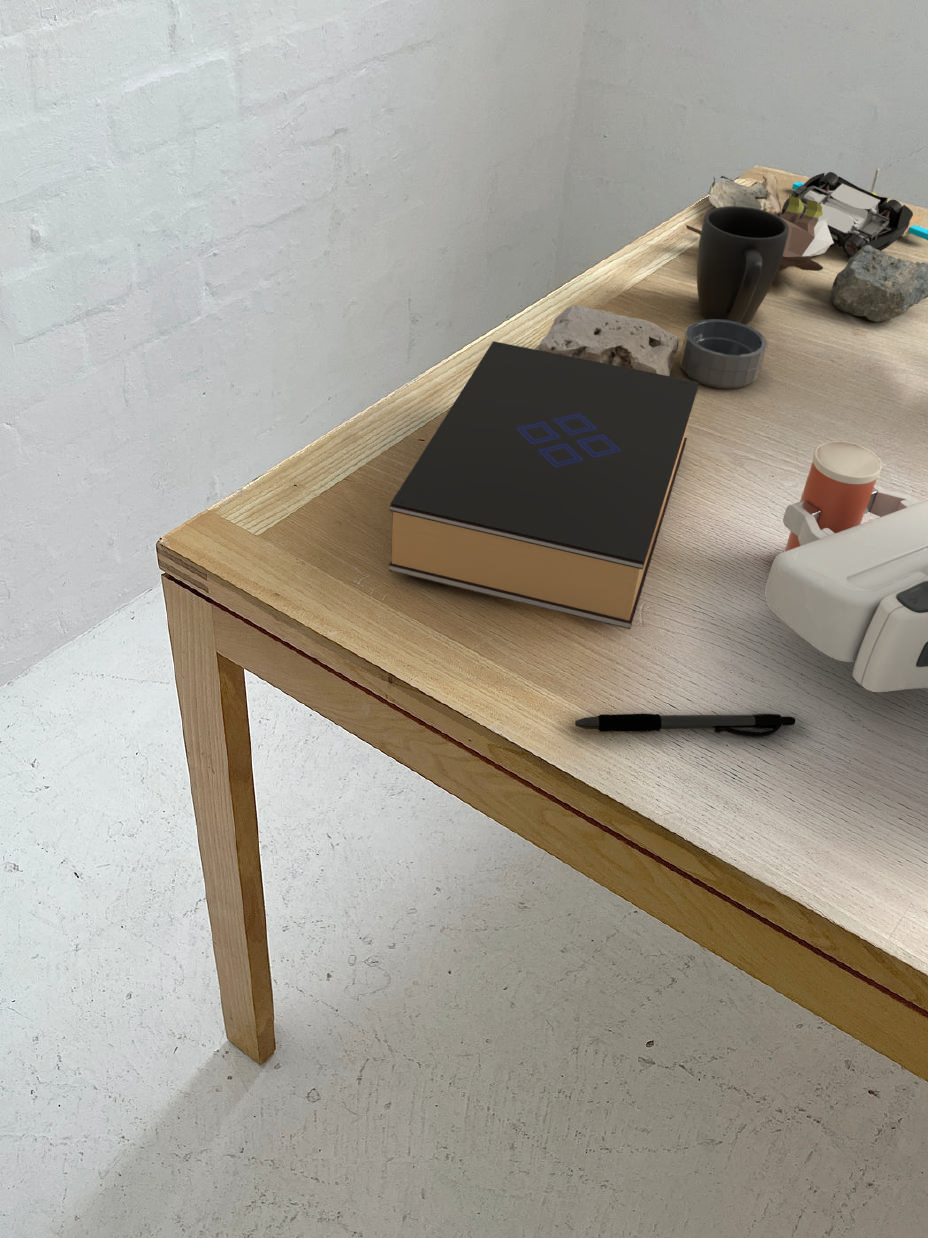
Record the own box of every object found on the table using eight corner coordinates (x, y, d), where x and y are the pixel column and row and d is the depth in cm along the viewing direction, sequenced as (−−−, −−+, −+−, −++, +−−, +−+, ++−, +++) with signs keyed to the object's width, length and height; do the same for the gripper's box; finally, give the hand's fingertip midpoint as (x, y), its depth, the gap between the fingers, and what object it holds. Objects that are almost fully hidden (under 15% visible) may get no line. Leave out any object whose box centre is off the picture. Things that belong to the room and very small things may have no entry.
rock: (872, 342, 114) (893, 297, 110) (806, 291, 119) (824, 247, 116) (952, 324, 119) (975, 281, 116) (886, 277, 125) (906, 234, 122)
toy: (885, 292, 122) (906, 228, 117) (763, 312, 116) (779, 246, 112) (796, 235, 132) (812, 174, 128) (680, 251, 127) (692, 188, 122)
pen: (801, 731, 70) (795, 740, 71) (795, 708, 71) (789, 718, 72) (579, 734, 68) (576, 743, 69) (576, 710, 69) (572, 720, 70)
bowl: (750, 354, 109) (758, 321, 107) (765, 393, 103) (774, 359, 101) (674, 350, 109) (681, 316, 106) (684, 389, 103) (692, 354, 101)
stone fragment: (690, 240, 130) (705, 277, 132) (760, 216, 125) (775, 255, 128) (717, 163, 142) (731, 199, 144) (782, 139, 137) (795, 176, 140)
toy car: (921, 210, 125) (920, 240, 129) (816, 163, 134) (817, 192, 137) (875, 253, 124) (875, 281, 128) (772, 203, 133) (774, 231, 136)
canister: (832, 555, 85) (872, 442, 79) (847, 594, 82) (889, 478, 75) (773, 552, 85) (808, 438, 79) (786, 590, 82) (823, 475, 75)
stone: (682, 407, 100) (674, 357, 108) (688, 345, 96) (679, 299, 104) (533, 406, 101) (535, 358, 109) (532, 346, 97) (535, 300, 105)
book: (387, 579, 80) (389, 502, 76) (486, 410, 98) (492, 340, 94) (628, 638, 77) (644, 561, 72) (684, 451, 95) (699, 381, 91)
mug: (689, 345, 110) (709, 250, 103) (683, 291, 119) (701, 201, 112) (774, 353, 109) (799, 259, 103) (762, 299, 118) (784, 209, 112)
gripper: (1102, 531, 74) (939, 428, 82) (880, 624, 65) (724, 498, 74) (1063, 604, 78) (911, 499, 86) (849, 701, 69) (705, 573, 78)
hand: (823, 499), depth 80 cm, fingers open, 5 cm apart
